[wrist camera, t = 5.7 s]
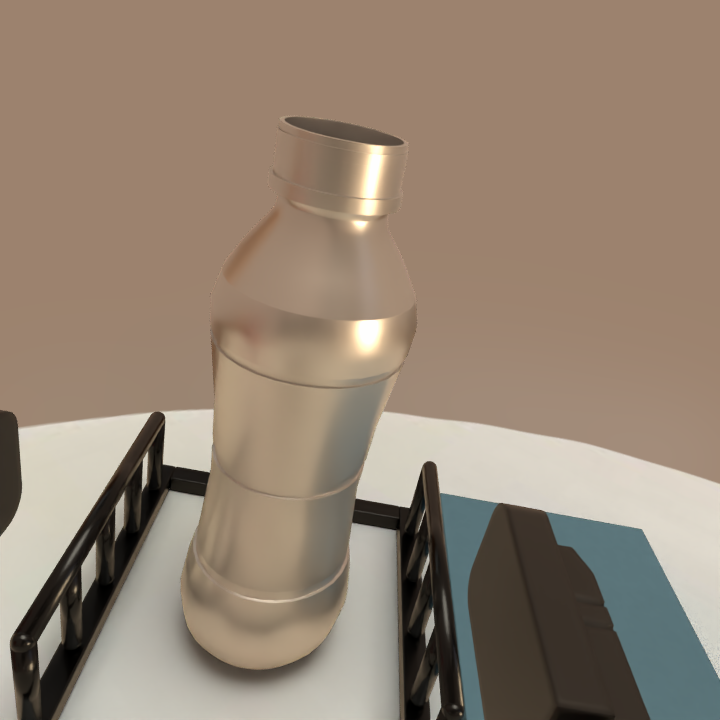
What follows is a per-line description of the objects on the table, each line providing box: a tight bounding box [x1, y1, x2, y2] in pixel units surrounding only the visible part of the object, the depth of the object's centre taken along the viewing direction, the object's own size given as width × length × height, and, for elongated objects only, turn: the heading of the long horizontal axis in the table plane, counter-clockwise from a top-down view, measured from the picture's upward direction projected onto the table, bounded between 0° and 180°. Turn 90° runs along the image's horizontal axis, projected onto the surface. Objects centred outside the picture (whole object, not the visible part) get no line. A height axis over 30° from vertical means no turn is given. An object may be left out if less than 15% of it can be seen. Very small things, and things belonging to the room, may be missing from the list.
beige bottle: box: [181, 116, 417, 670], centre depth 22 cm, size 6×7×20 cm
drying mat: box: [440, 493, 720, 720], centre depth 27 cm, size 20×12×1 cm, turn 178°
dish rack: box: [10, 412, 465, 720], centre depth 25 cm, size 16×14×5 cm
